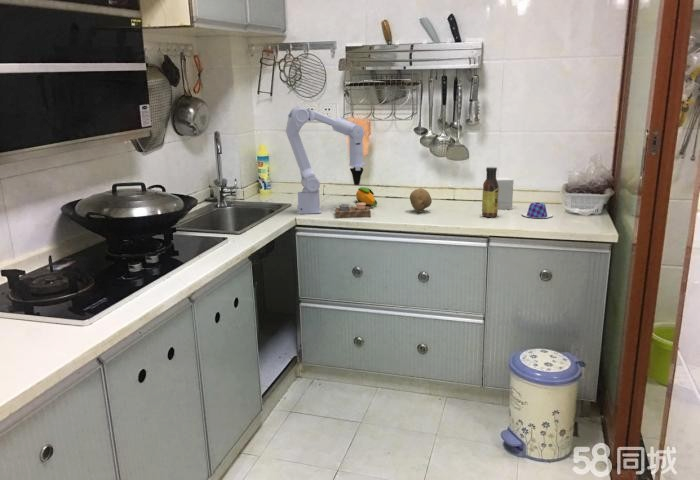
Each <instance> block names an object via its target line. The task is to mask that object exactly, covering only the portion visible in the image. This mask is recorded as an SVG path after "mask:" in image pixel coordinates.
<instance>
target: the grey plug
mask: <svg viewBox="0 0 700 480" xmlns="http://www.w3.org/2000/svg"><path fill="white" fill-rule="evenodd" d="M339 207H340V211H349V207H350V205H349V204H347V203H346V204H345V203H344V204H339Z"/></svg>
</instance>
